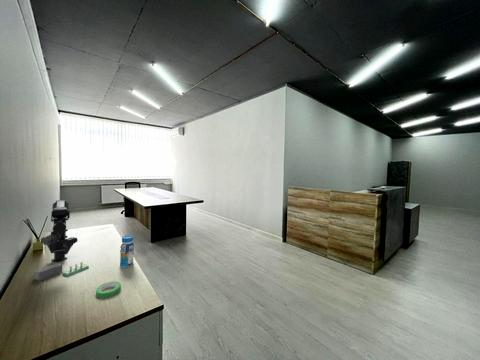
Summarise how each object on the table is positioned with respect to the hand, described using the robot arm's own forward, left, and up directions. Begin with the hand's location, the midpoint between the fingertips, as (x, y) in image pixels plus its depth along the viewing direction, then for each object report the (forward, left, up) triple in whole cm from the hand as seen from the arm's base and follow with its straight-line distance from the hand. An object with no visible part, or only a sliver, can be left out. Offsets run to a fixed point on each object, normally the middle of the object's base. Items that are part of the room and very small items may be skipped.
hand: (59, 253), depth 120 cm
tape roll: (+44, 0, -13) cm, 46 cm away
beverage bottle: (+27, +25, -13) cm, 39 cm away
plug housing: (-2, -4, -12) cm, 13 cm away
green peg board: (+6, +6, -12) cm, 15 cm away
